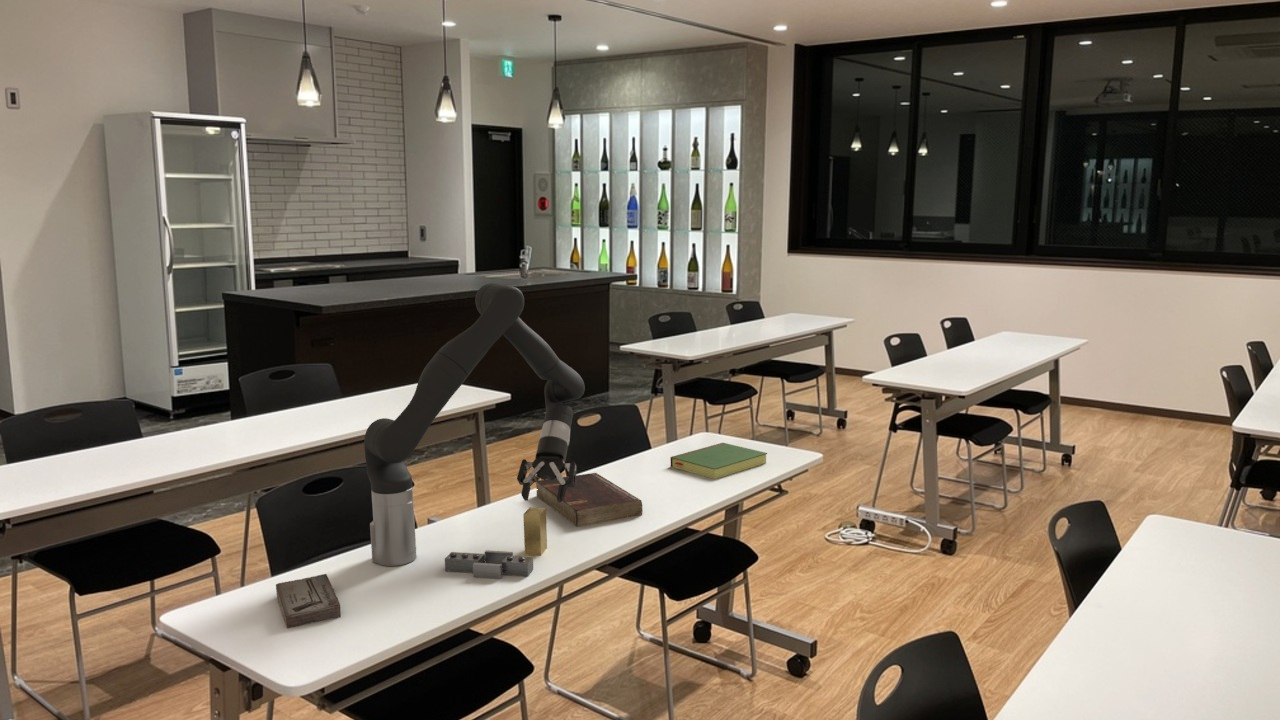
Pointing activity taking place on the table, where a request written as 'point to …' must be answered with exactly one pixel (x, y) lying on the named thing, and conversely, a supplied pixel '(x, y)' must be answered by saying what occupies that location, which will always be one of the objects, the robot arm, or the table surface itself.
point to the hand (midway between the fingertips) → (542, 500)
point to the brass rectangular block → (535, 531)
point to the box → (307, 601)
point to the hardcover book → (718, 460)
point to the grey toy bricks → (489, 564)
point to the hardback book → (590, 500)
